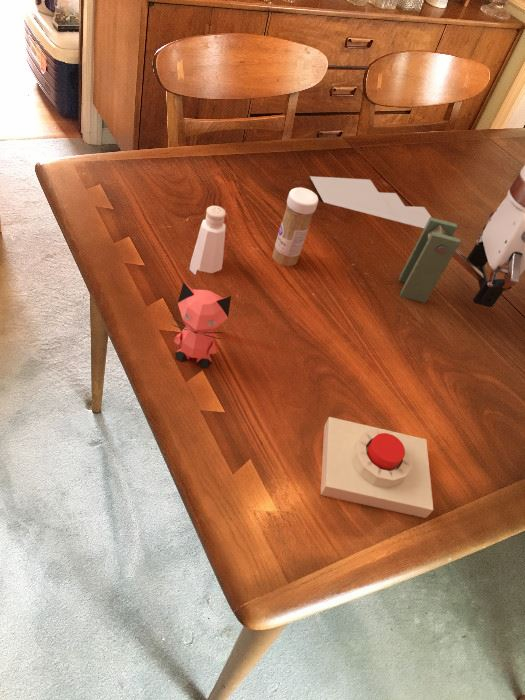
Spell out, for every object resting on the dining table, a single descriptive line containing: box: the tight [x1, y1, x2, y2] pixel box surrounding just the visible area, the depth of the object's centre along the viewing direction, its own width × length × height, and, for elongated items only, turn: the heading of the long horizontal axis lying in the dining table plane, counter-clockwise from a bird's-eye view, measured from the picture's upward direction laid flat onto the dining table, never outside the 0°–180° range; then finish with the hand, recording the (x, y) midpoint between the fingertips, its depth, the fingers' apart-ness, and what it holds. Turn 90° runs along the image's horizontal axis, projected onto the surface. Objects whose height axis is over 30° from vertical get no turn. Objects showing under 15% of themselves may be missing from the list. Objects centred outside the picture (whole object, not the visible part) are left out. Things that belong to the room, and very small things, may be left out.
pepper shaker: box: [189, 205, 227, 276], centre depth 84 cm, size 5×5×11 cm
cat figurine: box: [170, 281, 232, 369], centre depth 71 cm, size 7×7×12 cm
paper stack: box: [309, 175, 432, 229], centre depth 109 cm, size 23×25×1 cm
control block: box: [320, 416, 434, 519], centre depth 67 cm, size 13×10×4 cm
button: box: [368, 433, 405, 470], centre depth 66 cm, size 4×4×2 cm
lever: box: [427, 225, 489, 289], centre depth 88 cm, size 13×6×2 cm, turn 83°
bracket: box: [398, 216, 462, 303], centre depth 89 cm, size 12×9×14 cm
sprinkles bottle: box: [271, 187, 319, 267], centre depth 88 cm, size 5×5×13 cm
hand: (477, 284), depth 91 cm, fingers open, 9 cm apart
